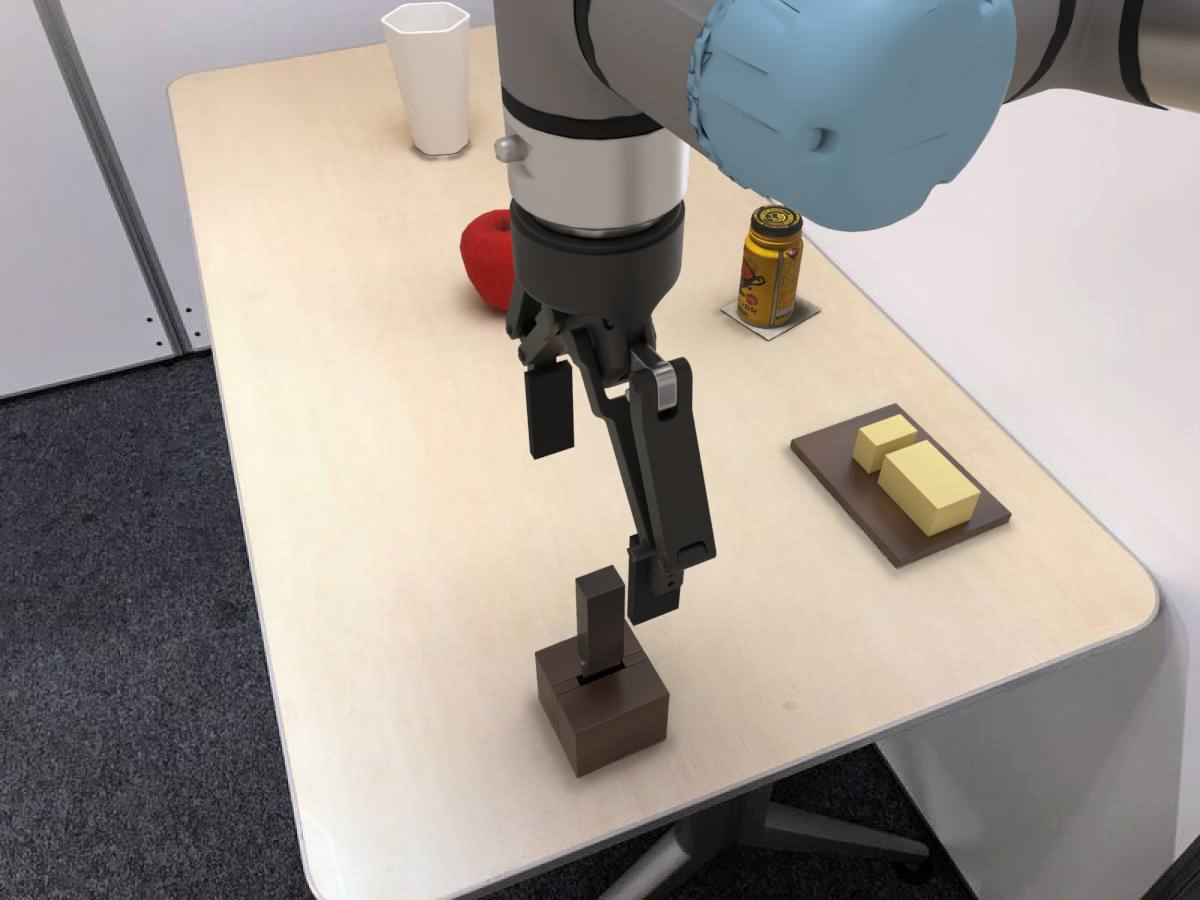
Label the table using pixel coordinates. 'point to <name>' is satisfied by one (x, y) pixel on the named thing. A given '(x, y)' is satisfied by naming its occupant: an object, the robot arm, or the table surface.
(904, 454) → the butter block
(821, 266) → the table surface
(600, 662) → the butter knife
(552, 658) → the knife block
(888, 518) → the butter board
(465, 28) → the cup
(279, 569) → the table surface
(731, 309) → the condiment
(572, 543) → the table surface
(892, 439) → the butter slice
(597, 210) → the robot arm
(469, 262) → the apple
